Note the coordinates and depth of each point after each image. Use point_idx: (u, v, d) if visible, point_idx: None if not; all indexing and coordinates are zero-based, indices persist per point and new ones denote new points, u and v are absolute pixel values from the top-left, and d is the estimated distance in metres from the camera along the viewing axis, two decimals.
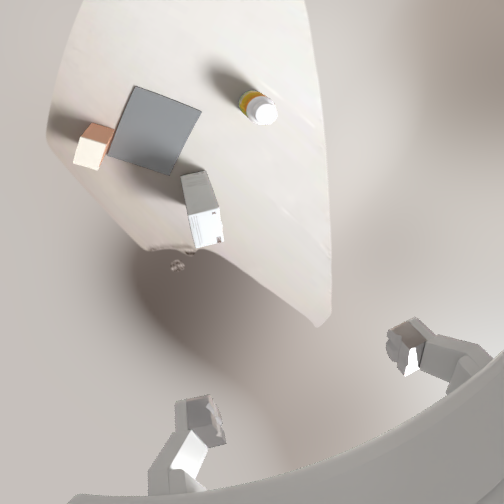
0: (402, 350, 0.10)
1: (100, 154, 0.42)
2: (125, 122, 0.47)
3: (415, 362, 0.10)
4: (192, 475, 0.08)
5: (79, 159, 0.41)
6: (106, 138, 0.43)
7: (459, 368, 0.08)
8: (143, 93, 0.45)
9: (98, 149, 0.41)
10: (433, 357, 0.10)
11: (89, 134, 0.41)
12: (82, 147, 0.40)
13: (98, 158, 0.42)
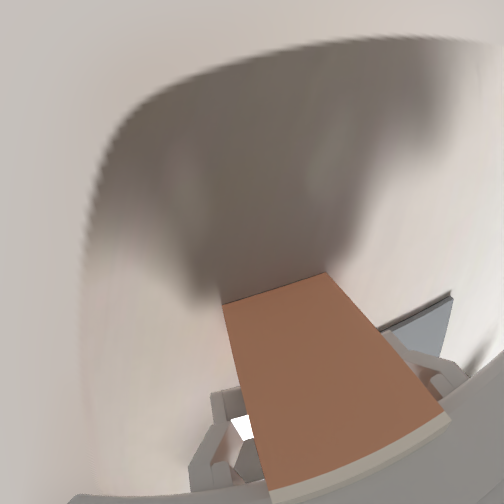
0: None
1: None
2: None
3: None
4: None
5: None
6: None
7: (431, 387, 0.08)
8: (441, 325, 0.17)
9: None
10: None
11: None
12: None
13: None
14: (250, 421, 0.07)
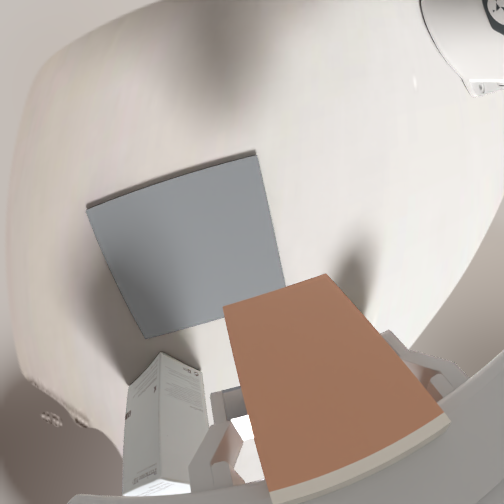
0: None
1: None
2: (173, 192, 0.22)
3: None
4: None
5: None
6: None
7: (431, 387, 0.08)
8: (253, 181, 0.23)
9: None
10: None
11: None
12: None
13: None
14: (250, 422, 0.07)
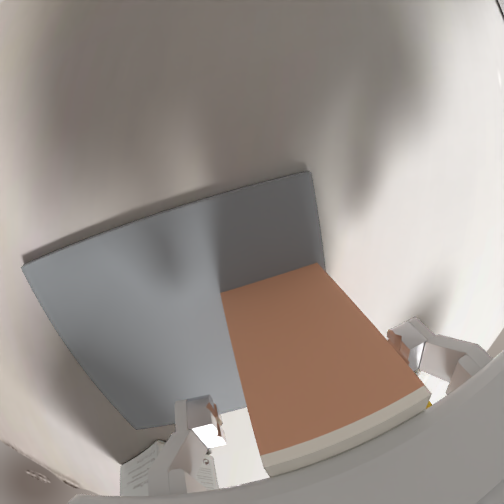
0: (402, 350, 0.10)
1: None
2: (158, 240, 0.12)
3: (415, 362, 0.10)
4: (192, 475, 0.08)
5: None
6: None
7: (459, 368, 0.08)
8: (303, 218, 0.13)
9: None
10: (433, 357, 0.10)
11: None
12: None
13: None
14: (244, 393, 0.08)
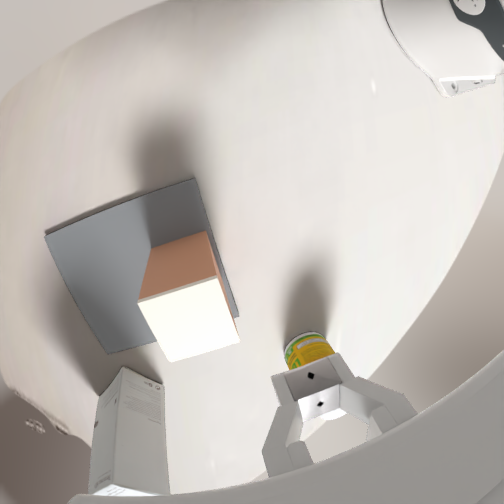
0: None
1: (210, 346, 0.18)
2: (117, 219, 0.22)
3: (332, 402, 0.10)
4: None
5: (159, 313, 0.16)
6: (230, 310, 0.21)
7: (372, 420, 0.08)
8: (193, 204, 0.23)
9: (218, 335, 0.18)
10: (351, 400, 0.09)
11: (218, 276, 0.19)
12: (195, 301, 0.17)
13: (197, 348, 0.18)
14: None
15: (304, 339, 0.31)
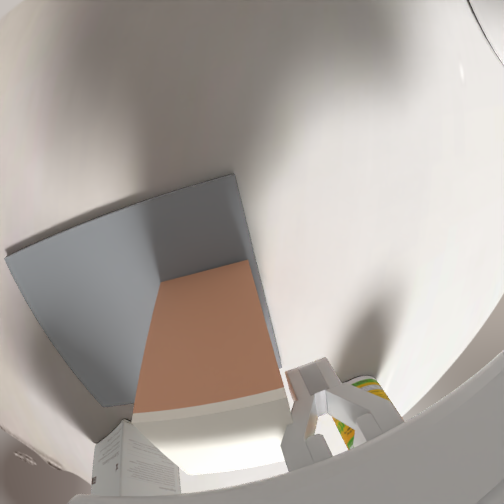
0: None
1: (254, 463, 0.10)
2: (107, 236, 0.14)
3: (319, 407, 0.10)
4: None
5: (173, 436, 0.08)
6: None
7: (357, 427, 0.08)
8: (229, 216, 0.15)
9: (270, 454, 0.09)
10: (337, 406, 0.09)
11: None
12: (238, 425, 0.08)
13: (234, 465, 0.09)
14: (142, 364, 0.10)
15: None
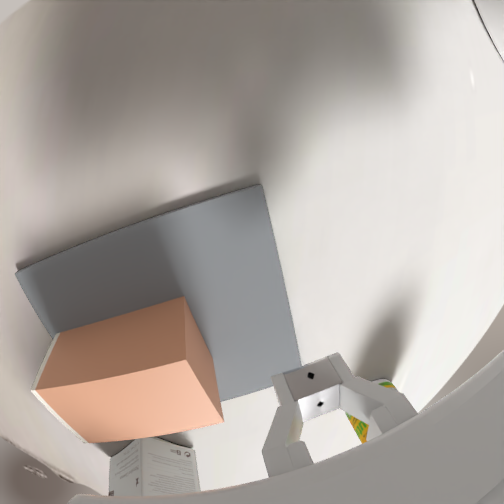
0: None
1: None
2: (128, 250, 0.14)
3: (332, 402, 0.10)
4: None
5: None
6: (118, 435, 0.12)
7: (372, 420, 0.08)
8: (256, 227, 0.15)
9: None
10: (351, 400, 0.09)
11: (75, 402, 0.11)
12: None
13: None
14: None
15: None
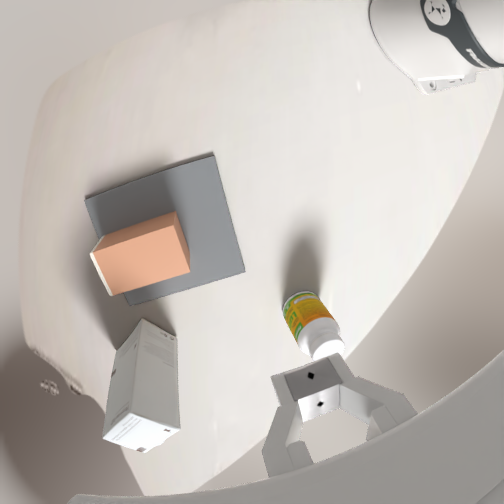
0: None
1: None
2: (150, 186, 0.29)
3: (332, 402, 0.10)
4: None
5: None
6: (132, 283, 0.27)
7: (372, 420, 0.08)
8: (211, 176, 0.30)
9: None
10: (351, 400, 0.09)
11: (114, 257, 0.26)
12: None
13: None
14: None
15: (300, 296, 0.37)
